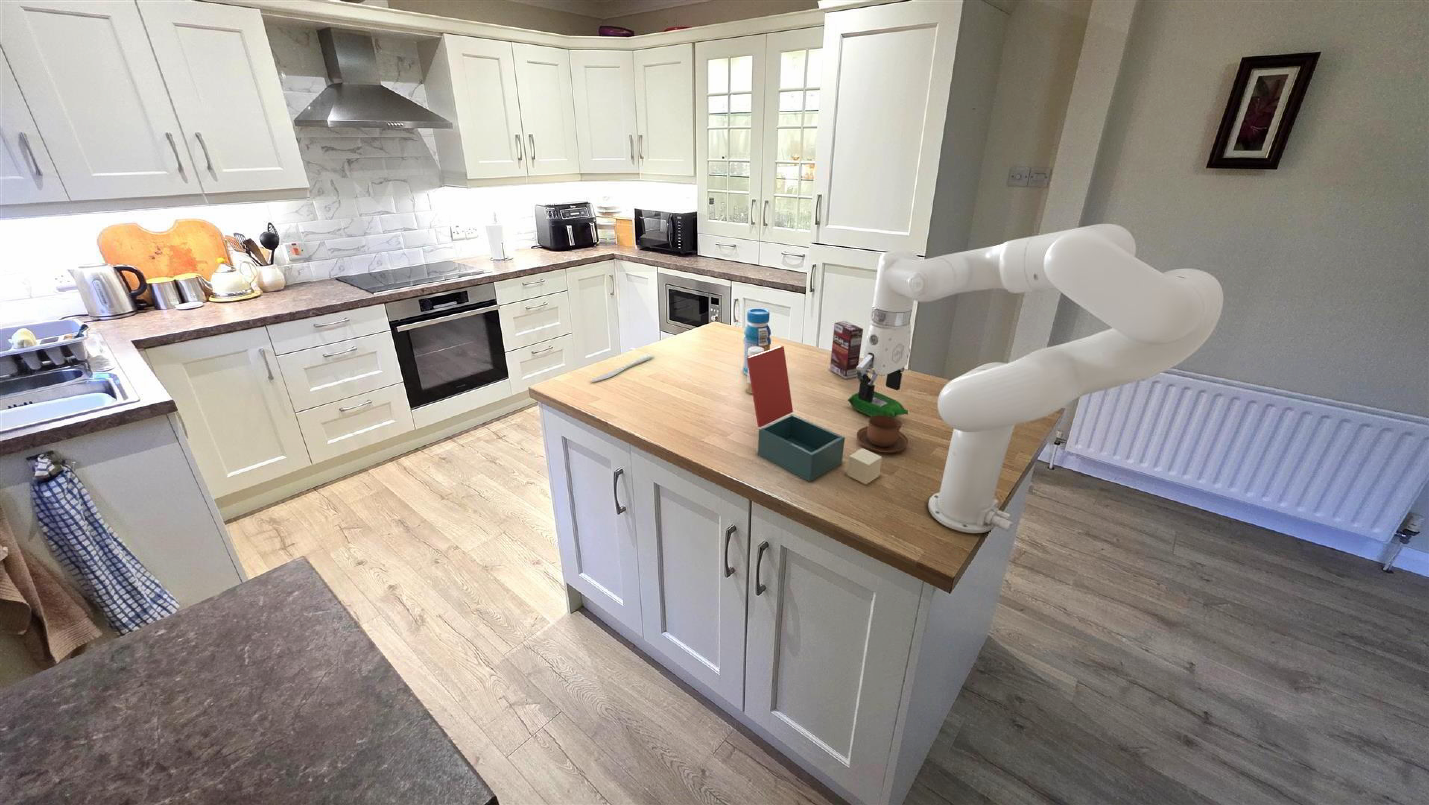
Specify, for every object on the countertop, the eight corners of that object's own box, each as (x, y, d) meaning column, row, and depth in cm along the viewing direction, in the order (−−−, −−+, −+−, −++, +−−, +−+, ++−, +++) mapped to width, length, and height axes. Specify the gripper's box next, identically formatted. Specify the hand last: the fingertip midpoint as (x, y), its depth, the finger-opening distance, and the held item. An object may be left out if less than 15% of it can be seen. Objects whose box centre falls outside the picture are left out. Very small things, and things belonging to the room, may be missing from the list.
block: (879, 476, 121) (882, 456, 119) (866, 484, 118) (868, 465, 116) (859, 467, 124) (862, 447, 122) (846, 475, 121) (849, 455, 119)
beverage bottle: (739, 375, 172) (741, 313, 163) (746, 366, 179) (748, 306, 170) (766, 378, 170) (769, 316, 161) (771, 369, 177) (775, 308, 168)
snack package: (890, 429, 140) (893, 411, 138) (844, 407, 152) (846, 389, 150) (907, 422, 144) (911, 404, 142) (861, 400, 156) (864, 384, 153)
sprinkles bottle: (764, 390, 162) (766, 347, 156) (759, 396, 158) (761, 352, 152) (749, 387, 164) (751, 344, 158) (744, 393, 160) (745, 349, 154)
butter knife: (656, 356, 185) (649, 354, 186) (595, 383, 165) (588, 380, 167) (656, 358, 185) (649, 355, 186) (595, 384, 166) (588, 381, 167)
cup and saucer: (868, 427, 141) (871, 406, 138) (914, 442, 134) (918, 420, 132) (847, 446, 133) (850, 423, 130) (894, 462, 126) (898, 439, 123)
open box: (841, 463, 126) (845, 437, 123) (809, 482, 119) (812, 455, 116) (790, 438, 136) (791, 413, 133) (757, 454, 129) (758, 428, 126)
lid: (783, 345, 129) (781, 345, 129) (749, 357, 122) (746, 357, 122) (793, 412, 133) (790, 411, 133) (760, 427, 126) (757, 427, 126)
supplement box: (828, 369, 176) (833, 322, 169) (841, 367, 178) (846, 320, 171) (845, 379, 169) (851, 330, 162) (857, 377, 171) (864, 328, 164)
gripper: (881, 329, 101) (869, 412, 109) (931, 312, 111) (917, 389, 119) (848, 320, 106) (839, 399, 114) (899, 304, 116) (887, 378, 124)
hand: (879, 394), depth 116 cm, fingers open, 9 cm apart
